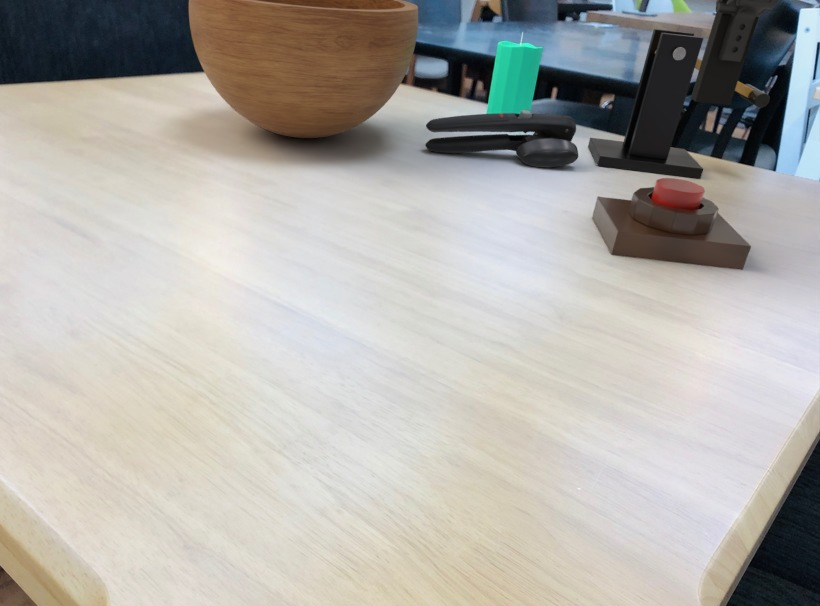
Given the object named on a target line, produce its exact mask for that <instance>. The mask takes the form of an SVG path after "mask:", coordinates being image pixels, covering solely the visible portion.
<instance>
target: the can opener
mask: <svg viewBox="0 0 820 606" xmlns="http://www.w3.org/2000/svg"><path fill="white" fill-rule="evenodd" d="M425 128H426V129H427V130H428V131H430V132H432V133H494V134H475V135H474V134H473V135H458V136H445V137H434V138H431V139H428V140H427V141H426V143H425V148H426V149H427V150H429V152H434V153H440V154H441V153H443V154H444V153H445V154H469V153H478V152H479V153H480V152H490V151H512V152H513V151H514V152H515V154H516V156H517V157H518V158H519V159H520V160H521V162H522V163H524V164H525V165H528V166H530V167H531V166H532V167H535V168H537V167H538V168H556V167H563V166H567V165H571V164H572V163H575V162H576V161H577V160H578V159H579V150H578V146H577V145H576V144H575V143H574V142H572V141H573V139H574V136H575V135H576V132H577V124H576V121H575V119H573V117H571V116H569V115H563V114H551V113H550V114H549V113H547V114H546V113H532V111H528V110H522V111H521V113H520V114H517V113H493V114H486V113H479V114H477V113H476V114H466V115H454V116H447V117H439V118H433V119H431V120H429V121H428V122H427V123H426V124H425ZM508 133H524V134H508ZM527 133H532V134H527Z"/></svg>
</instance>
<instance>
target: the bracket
mask: <svg viewBox="0 0 820 606" xmlns="http://www.w3.org/2000/svg"><path fill="white" fill-rule="evenodd" d="M703 42H704V37H702V36H695V34H694V33H693V32H689V31H679V30H670V29H660V28H653V31H652V33H651V38H650V42H649V45H648V49H647V53H646V57H645V60H644V64H643V68H642V71H641V76H640V79H639V83H638V86H637V91H636V94H635V98H634V101H633V105H632V108H631V112H630V115H629V116H630V117H629V120H628V124H627V127H626V131H625V136H624V139H623V141H622V140H613V139H605V138H597V137H589V141H588V145H587V148H588V149H589V151H590V154H591V155H592V157H593V160H594V161H595V164H596V166H597V167H603V168H612V169H620V170H628V171H635V172H643V173H652V174H660V175H667V176H668V175H669V176H677V177H684V178H692V179H701V178H702V175H703V172H704V168H703V167H702V166H701V165H700V163H699V162H698V161H697V160H696V159H695V158H694V157H693V156H692V155H691V154H690V153H689V152H688V151H687V149H685V148H679V147H673V146H672V145H673V141H674V138H675V134H676V131H677V128H678V124H679V121H680V117H681V114H682V111H683V109H684V108H683V107H684V104H685V101H686V99H687V94H688V91H689V88H690V85H691V81H692V78H693V75H694V71H695V69H696V68H695V65H696V62H697V58H698V59H699V55H700V52H701V49H702V45H703ZM655 51H656V54H655Z"/></svg>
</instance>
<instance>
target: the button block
mask: <svg viewBox="0 0 820 606" xmlns="http://www.w3.org/2000/svg"><path fill="white" fill-rule="evenodd" d="M654 187H655V186H651V187H649V186H648V187H640V188H638V189H637V190H635V191H634V192H633V193H632V197H631V199H624V198H614V197H604V196H596V197H597V198H596V200H595V205H594V209H593V212H592V217H591V219H592V221H593V223H594V225H595V227H596V229H597V230H598V232H599V234H600V236H601V238H602V240H603V241H604V243H605V245H606V248H607V249H608V251H609V253H610V255H611V256H617V257H626V258H627V257H628V258H633V259H634V258H635V259H644V260H652V261H660V262H669V263H678V264H687V265H696V266H703V267H704V266H705V267H713V268H721V269H729V270H740V271H742V270H743V269H744V266H745V264H746V262H747V259H748V256H749V254H750V252H751V248H752V246H751V245H750V244H749V242H748V241H747V240H745V239H744V238H743V236H741V234H739V232H738V231H737V230H735V229H734V227H733V226H732V225H730V223H729V222H728V221H727V220H726V219H725V218H724V217H723V216H722V215H721V213H719V211H720V208H719V207H718V206H717V205H716V204H715V203H714V202H713V201H712V200H710V199H707V198H705V197H703V198H702V201H701V204H700V207H699V209H697V210H686V209H678V208H673V207H669V206H665V205H661V204H659V203H657V202H655V201H653V200H651V197H652V194H653V190H654Z"/></svg>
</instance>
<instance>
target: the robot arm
mask: <svg viewBox="0 0 820 606" xmlns="http://www.w3.org/2000/svg"><path fill="white" fill-rule="evenodd" d="M778 1H779V0H716V1H715V17H714V19H713V23H712V26H711V29H710V32H709V36H708V40H707V42H706V46H705V49H704V52H703V55H702V58H701V60H702V62H701V66H700V69H699V70H698V72H697V76H696V79H695V83H694V86H693V90H692V92H691V96H690V99H691V100H692V101H694V102H695V103H703V104H704V103H706V104H714V105H724V106H731V103H732V101H733V97H734V94H735V92H736V91H735V88H736V85H737V82H738V81H739V79H740V76H741V73H742V71H743V70H742V69H743V67H744V63H745V61H746V58H747V55H748V52H749V49H750V45H751V42H752V39H753V36H754V34H755V30H756V28H757V24H758V21H759V18H760V17H762V16H763V14H764V13H765V12H766V9H767V10H773V9H774V8H775V7H776V5H777V3H778Z"/></svg>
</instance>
